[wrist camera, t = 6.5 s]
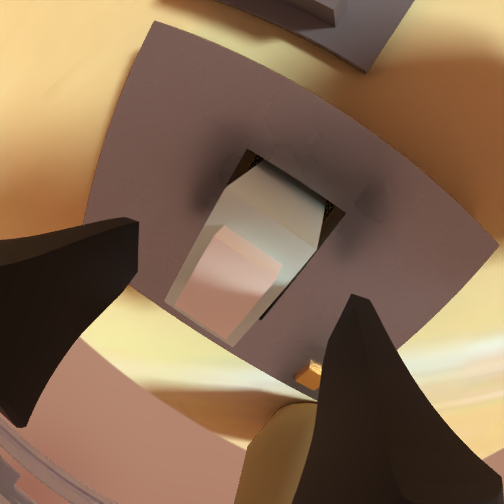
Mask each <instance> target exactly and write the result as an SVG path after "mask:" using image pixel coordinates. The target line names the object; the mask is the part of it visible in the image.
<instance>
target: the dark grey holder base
mask: <svg viewBox="0 0 504 504" xmlns="http://www.w3.org/2000/svg"><path fill="white" fill-rule="evenodd" d="M215 1H218V2H221V3H224V4H226V5H229V6H232V7H234V8H237V9H240V10H242V11H245V12H247V13H250V14H252V15H255V16H257V17H259V18H262V19H264V20H266V21H269V22H271V23H273V24H275V25H278V26H280V27H282V28H284V29H286V30H288V31H290V32H292V33H294V34H296V35H298V36H300V37H302V38H304V39H306V40H308V41H310V42H312V43H314V44H316V45H317V46H319V47H321V48H323V49H325V50H326V51H328V52H330V53H332V54H333V55H335V56H337V57H339V58H340V59H342V60H344V61H345V62H347V63H349V64H350V65H352V66H353V67H355V68H357V69H358V70H360V71H361V72H363V73H364V74H366V73H367V72H368V70H369V69H370V67H371V66H372V64H373V63H374V61H375V59H376V58H377V56H378V55H379V53H380V52H381V50H382V49H383V47H384V46H385V44H386V43H387V41H388V40H389V38H390V37H391V35H392V34H393V32H394V31H395V29H396V28H397V26H398V25H399V23H400V22H401V20H402V18H403V17H404V15H405V14H406V12H407V11H408V9H409V8H410V6H411V5H412V3H413V2H414V0H215Z"/></svg>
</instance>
